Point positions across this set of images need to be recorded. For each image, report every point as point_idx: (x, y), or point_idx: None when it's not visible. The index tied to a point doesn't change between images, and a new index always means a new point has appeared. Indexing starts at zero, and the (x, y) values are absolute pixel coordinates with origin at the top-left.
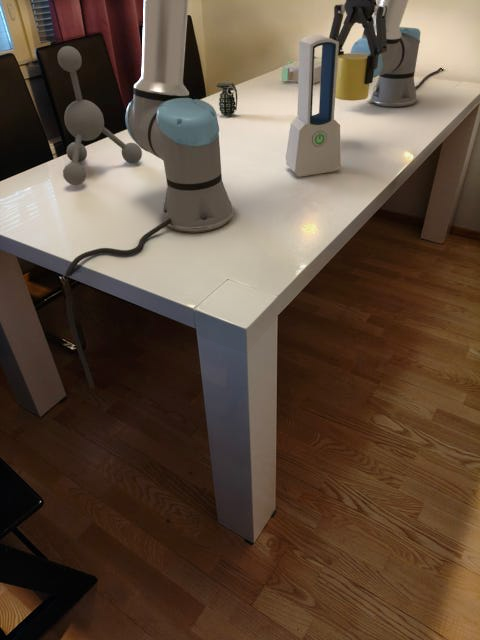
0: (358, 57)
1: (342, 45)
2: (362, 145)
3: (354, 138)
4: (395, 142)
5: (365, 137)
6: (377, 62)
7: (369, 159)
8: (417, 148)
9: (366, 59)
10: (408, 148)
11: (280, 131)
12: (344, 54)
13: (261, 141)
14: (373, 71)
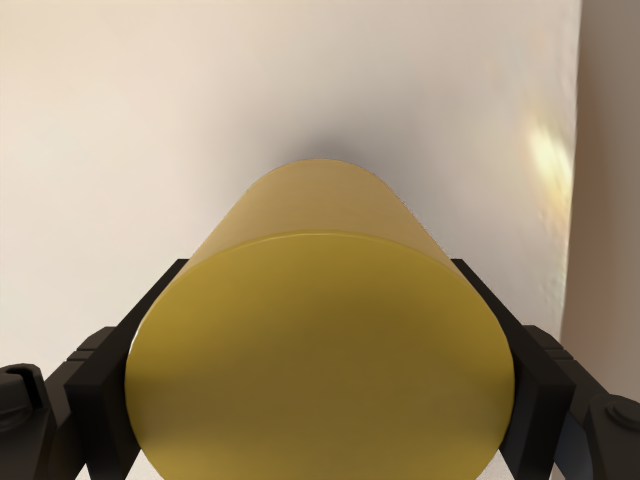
0: (397, 460)
1: (44, 465)
2: (367, 159)
3: (300, 106)
4: (460, 52)
5: (329, 67)
6: (574, 365)
7: (450, 258)
8: (561, 68)
9: (489, 447)
10: (530, 89)
11: (26, 200)
12: (160, 399)
13: (75, 313)
14: (491, 298)
